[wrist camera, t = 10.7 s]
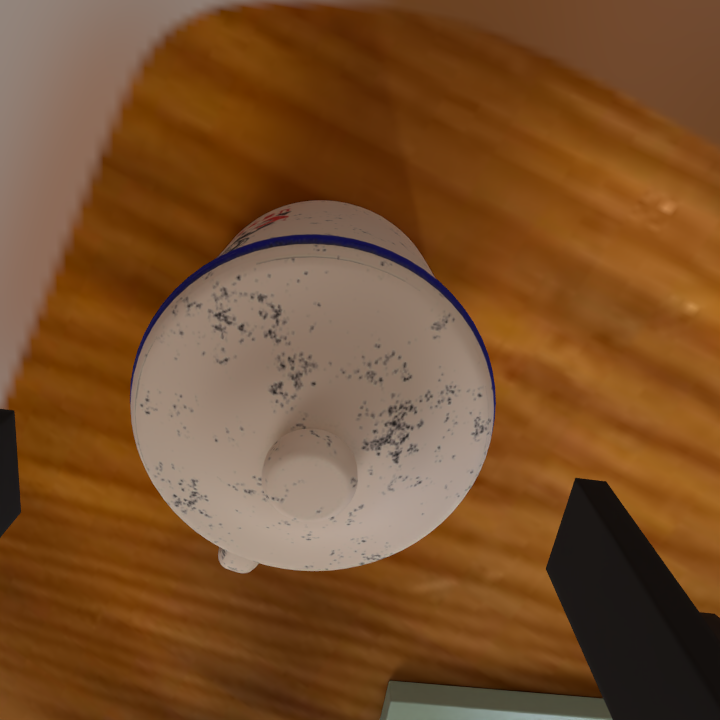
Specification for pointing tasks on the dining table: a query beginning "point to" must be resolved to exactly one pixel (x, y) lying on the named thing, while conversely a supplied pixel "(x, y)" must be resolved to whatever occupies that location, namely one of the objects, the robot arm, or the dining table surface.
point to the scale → (484, 704)
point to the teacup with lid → (313, 393)
